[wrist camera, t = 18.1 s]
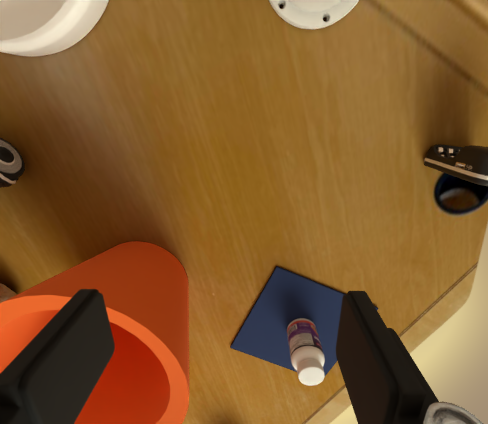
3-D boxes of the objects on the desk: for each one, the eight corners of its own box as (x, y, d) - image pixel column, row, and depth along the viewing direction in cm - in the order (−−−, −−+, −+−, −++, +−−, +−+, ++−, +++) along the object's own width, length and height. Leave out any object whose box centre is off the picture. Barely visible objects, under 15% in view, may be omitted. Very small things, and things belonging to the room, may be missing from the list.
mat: (276, 265, 47) (276, 267, 47) (377, 307, 50) (378, 308, 49) (230, 346, 54) (230, 347, 54) (320, 379, 56) (321, 380, 56)
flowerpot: (241, 267, 48) (233, 371, 29) (170, 355, 55) (129, 481, 37) (108, 186, 43) (-2, 248, 25) (51, 294, 51) (-63, 402, 32)
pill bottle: (317, 337, 52) (331, 387, 43) (288, 341, 53) (296, 391, 44) (314, 315, 50) (327, 361, 41) (284, 319, 51) (291, 366, 42)
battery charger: (478, 144, 39) (563, 158, 28) (467, 170, 40) (544, 194, 30) (429, 137, 39) (495, 150, 28) (419, 164, 40) (479, 186, 30)
